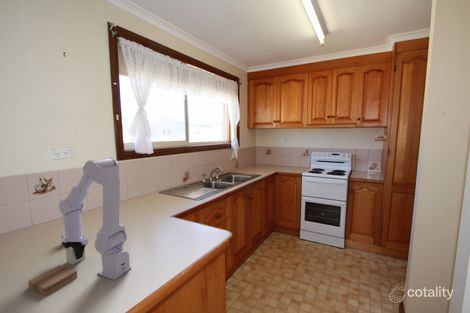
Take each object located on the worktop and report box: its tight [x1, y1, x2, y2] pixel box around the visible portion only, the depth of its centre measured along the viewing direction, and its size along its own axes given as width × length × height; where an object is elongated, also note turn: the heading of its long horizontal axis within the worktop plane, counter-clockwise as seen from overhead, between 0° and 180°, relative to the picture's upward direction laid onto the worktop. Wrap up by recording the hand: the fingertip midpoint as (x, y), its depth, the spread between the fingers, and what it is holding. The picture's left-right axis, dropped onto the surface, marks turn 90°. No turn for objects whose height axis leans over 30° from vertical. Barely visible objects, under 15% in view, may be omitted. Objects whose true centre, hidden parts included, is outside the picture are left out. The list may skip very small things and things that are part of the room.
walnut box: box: [27, 264, 78, 297], centre depth 79 cm, size 10×10×3 cm
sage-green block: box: [65, 247, 86, 265], centre depth 92 cm, size 4×5×6 cm
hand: (76, 257), depth 93 cm, fingers closed on sage-green block, 4 cm apart
